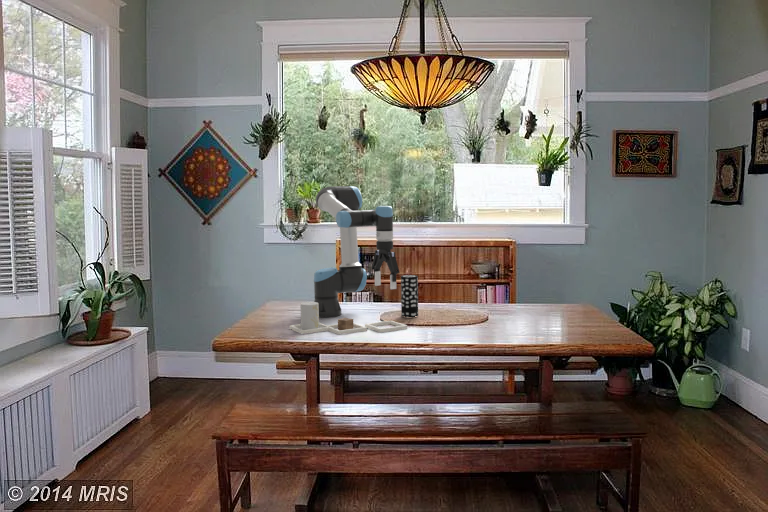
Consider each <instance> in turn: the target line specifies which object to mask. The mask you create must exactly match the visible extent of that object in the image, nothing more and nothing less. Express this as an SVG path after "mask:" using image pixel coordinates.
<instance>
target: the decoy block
mask: <svg viewBox="0 0 768 512" xmlns="http://www.w3.org/2000/svg"><path fill="white" fill-rule="evenodd" d="M354 323H355V322H354V318H350V317H343V318H339V319H337V324H338V328H337V330H347V329H355V327H354Z"/></svg>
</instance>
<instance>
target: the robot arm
mask: <svg viewBox="0 0 768 512" xmlns="http://www.w3.org/2000/svg"><path fill="white" fill-rule="evenodd" d="M315 203H316V206H317V208H319V209H320V210H321V211H323V212H327V213H329V215H331V216H332V217H333V218H335V222H336V225H337V226H338V227H339V236H340V253H341V264H340V265H339V266H338V268H337V267H325V268H320V269H318V270H316V271H315V272H314V275H313V283H314V284H313V287H314V288H313V291H314V301H313V302H317V303H318V304H319V318H333V317H339V316H341V315H342V314H343V313H342V308H341V305H340V302H339V296H338V295H339V294H342V293H344V294H345V293H357V292H361V291H363V290H364V289H365V287H366V285H367V280H368V278H367V275H368V274H367V271H366V269H365V268H363V267H362V263H360V262H359V260H360V259H359V247H358V229H357V228H361V227H362V228H363V227H364V228H366V227H375V229H376V230H375V232H376V233H375V235H376V243H375V245H376V249H375V250H374V257H373V261H372V266H371V270H372V271H373V272H374V286H375V287H378V286H381V285H382V281H381V278H382V277H381V273H382V272H381V271H382V270H381V267H382V266H383V264H384V262H385V264H386V265H387V267H388V269H389V272H390V274H389V283H390V284H389V289H390V290H397V275H398V274H400V269H399V265H398V261H397V258H396V252H395V251H392V250H393V249H394V241H393V240H394V228H393V227H394V219H393V217H394V212H393V207H392V206H391V205H379V206H376V207H375V209H364V210H363V209H362V210H360V209H361V208H362V206H363V197H362V193H361V191H360V189H359V187H357V186H353V185H339V186H326V187H325V186H324V187H322V189H320V190H319V191H318V192H317V194H316V196H315Z"/></svg>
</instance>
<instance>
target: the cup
mask: <svg viewBox="0 0 768 512" xmlns="http://www.w3.org/2000/svg"><path fill="white" fill-rule="evenodd" d="M299 306H300V324H301V328H300V329H302V330H309V329H316V328H320V327H319V323H320V317H319V304H318V303H317V302H314V301H304V302H301V303H300V305H299Z"/></svg>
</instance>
